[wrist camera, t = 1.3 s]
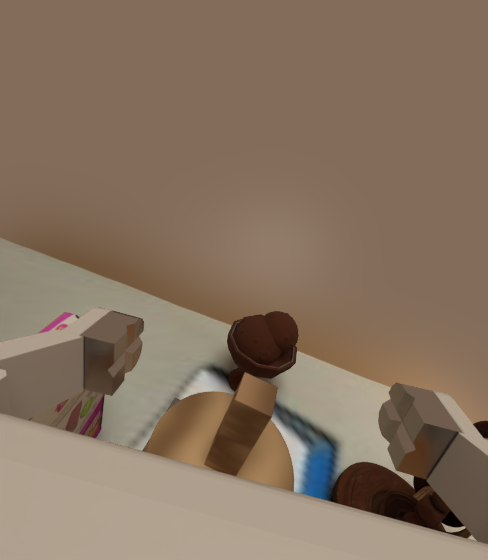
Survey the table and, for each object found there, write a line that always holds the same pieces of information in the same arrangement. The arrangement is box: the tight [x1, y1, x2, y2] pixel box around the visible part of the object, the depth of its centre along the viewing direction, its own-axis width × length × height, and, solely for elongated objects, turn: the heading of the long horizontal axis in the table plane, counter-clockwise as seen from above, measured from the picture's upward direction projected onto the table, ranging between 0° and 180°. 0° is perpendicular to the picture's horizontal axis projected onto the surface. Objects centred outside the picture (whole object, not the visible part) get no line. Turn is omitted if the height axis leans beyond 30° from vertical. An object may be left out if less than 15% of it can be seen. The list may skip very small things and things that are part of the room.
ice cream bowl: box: [227, 311, 298, 392], centre depth 43 cm, size 11×11×15 cm
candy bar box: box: [29, 312, 105, 438], centre depth 25 cm, size 11×5×16 cm, turn 171°
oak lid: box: [144, 372, 294, 491], centre depth 28 cm, size 15×15×17 cm
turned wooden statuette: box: [332, 421, 488, 538], centre depth 29 cm, size 15×15×20 cm
